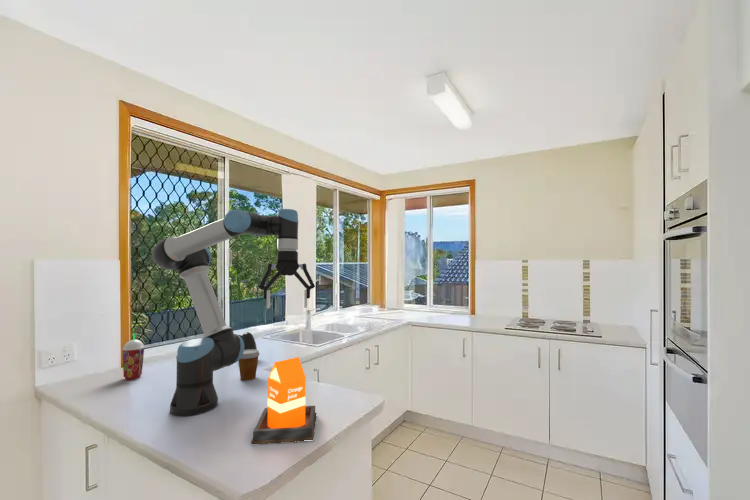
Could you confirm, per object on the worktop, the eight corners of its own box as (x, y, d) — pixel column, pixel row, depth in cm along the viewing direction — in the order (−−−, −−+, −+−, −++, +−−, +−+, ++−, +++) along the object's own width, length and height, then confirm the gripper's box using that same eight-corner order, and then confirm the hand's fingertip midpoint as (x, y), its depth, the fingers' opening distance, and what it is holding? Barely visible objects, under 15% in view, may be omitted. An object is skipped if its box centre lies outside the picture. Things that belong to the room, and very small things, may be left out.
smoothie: (148, 375, 160) (149, 331, 161) (134, 381, 152) (135, 335, 153) (131, 375, 161) (132, 331, 162) (116, 380, 153) (117, 335, 154)
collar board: (251, 445, 97) (251, 432, 97) (263, 418, 114) (263, 407, 114) (313, 441, 99) (313, 428, 99) (316, 415, 116) (316, 405, 116)
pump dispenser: (235, 359, 187) (236, 331, 188) (255, 357, 191) (256, 329, 192) (236, 364, 178) (237, 334, 178) (257, 362, 182) (258, 333, 183)
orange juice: (267, 426, 107) (267, 360, 108) (292, 417, 113) (292, 354, 114) (280, 434, 101) (280, 364, 102) (305, 424, 107) (306, 359, 108)
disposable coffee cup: (244, 383, 149) (244, 355, 150) (232, 379, 155) (232, 352, 155) (263, 377, 156) (263, 350, 157) (251, 373, 162) (251, 348, 163)
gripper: (321, 251, 135) (321, 306, 134) (255, 251, 132) (254, 307, 131) (320, 250, 128) (320, 308, 127) (250, 250, 125) (250, 309, 124)
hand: (287, 307), depth 129 cm, fingers open, 13 cm apart
